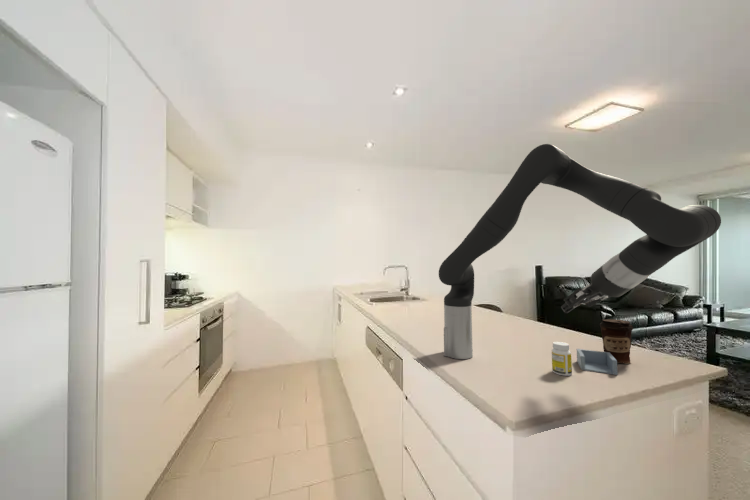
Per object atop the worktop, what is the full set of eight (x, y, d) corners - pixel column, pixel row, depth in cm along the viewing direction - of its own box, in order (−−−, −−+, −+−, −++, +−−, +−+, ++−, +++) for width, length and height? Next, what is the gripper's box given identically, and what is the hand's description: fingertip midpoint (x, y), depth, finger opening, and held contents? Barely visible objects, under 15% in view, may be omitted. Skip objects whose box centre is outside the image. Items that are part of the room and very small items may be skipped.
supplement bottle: (566, 370, 83) (565, 341, 84) (575, 376, 79) (574, 346, 79) (549, 369, 84) (548, 341, 84) (557, 375, 79) (556, 345, 80)
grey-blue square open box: (581, 369, 84) (580, 356, 84) (576, 361, 91) (576, 348, 91) (617, 375, 80) (616, 360, 80) (610, 365, 87) (609, 352, 87)
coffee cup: (638, 367, 85) (636, 324, 86) (603, 362, 89) (601, 321, 90) (631, 359, 92) (629, 319, 93) (599, 355, 97) (597, 317, 97)
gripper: (628, 257, 71) (585, 291, 83) (585, 266, 67) (546, 300, 80) (654, 281, 66) (604, 313, 79) (609, 293, 63) (564, 324, 75)
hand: (575, 307), depth 79 cm, fingers open, 8 cm apart
